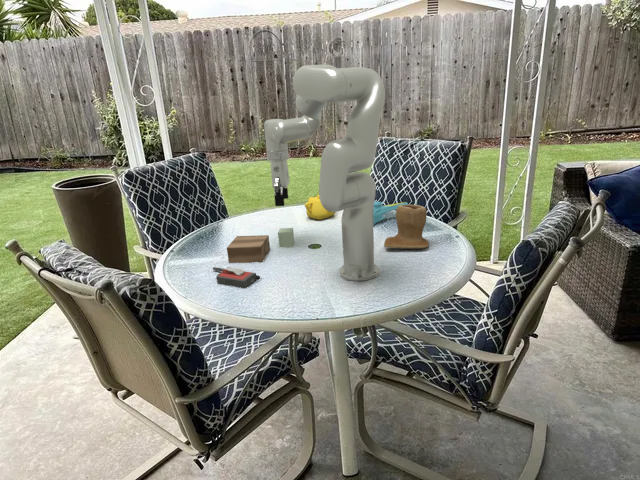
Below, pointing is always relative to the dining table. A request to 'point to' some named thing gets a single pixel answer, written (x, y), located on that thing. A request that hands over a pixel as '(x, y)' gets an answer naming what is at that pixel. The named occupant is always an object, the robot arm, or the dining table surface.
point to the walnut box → (248, 249)
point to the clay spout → (409, 228)
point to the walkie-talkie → (235, 277)
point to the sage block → (286, 237)
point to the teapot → (316, 209)
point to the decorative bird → (383, 210)
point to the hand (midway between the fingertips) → (282, 202)
